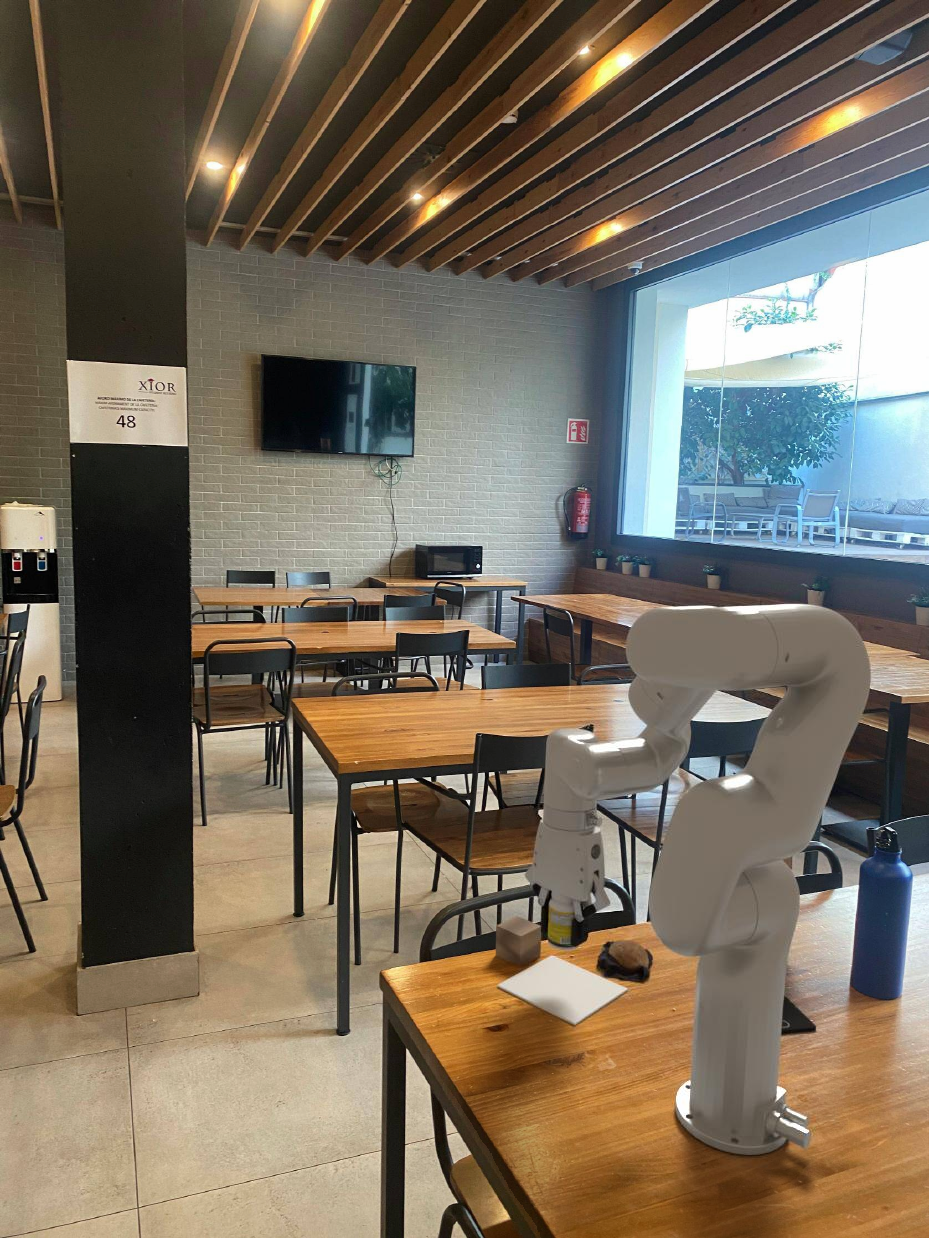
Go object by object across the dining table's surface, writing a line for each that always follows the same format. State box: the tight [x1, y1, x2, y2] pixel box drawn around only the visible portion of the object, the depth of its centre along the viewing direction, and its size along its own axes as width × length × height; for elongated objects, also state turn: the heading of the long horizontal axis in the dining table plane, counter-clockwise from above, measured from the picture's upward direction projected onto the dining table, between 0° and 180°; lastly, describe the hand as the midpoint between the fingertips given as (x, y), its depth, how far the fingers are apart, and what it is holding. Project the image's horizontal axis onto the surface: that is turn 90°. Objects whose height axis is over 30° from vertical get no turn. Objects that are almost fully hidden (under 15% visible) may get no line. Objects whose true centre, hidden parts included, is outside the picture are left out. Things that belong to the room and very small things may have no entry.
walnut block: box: [495, 915, 542, 968], centre depth 139 cm, size 5×5×5 cm
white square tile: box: [496, 954, 629, 1026], centre depth 130 cm, size 14×13×1 cm
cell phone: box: [781, 994, 817, 1035], centre depth 129 cm, size 9×18×1 cm, turn 11°
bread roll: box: [596, 939, 654, 983], centre depth 138 cm, size 11×8×4 cm
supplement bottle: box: [547, 891, 579, 951], centre depth 129 cm, size 5×5×8 cm
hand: (563, 935), depth 129 cm, fingers closed on supplement bottle, 4 cm apart
